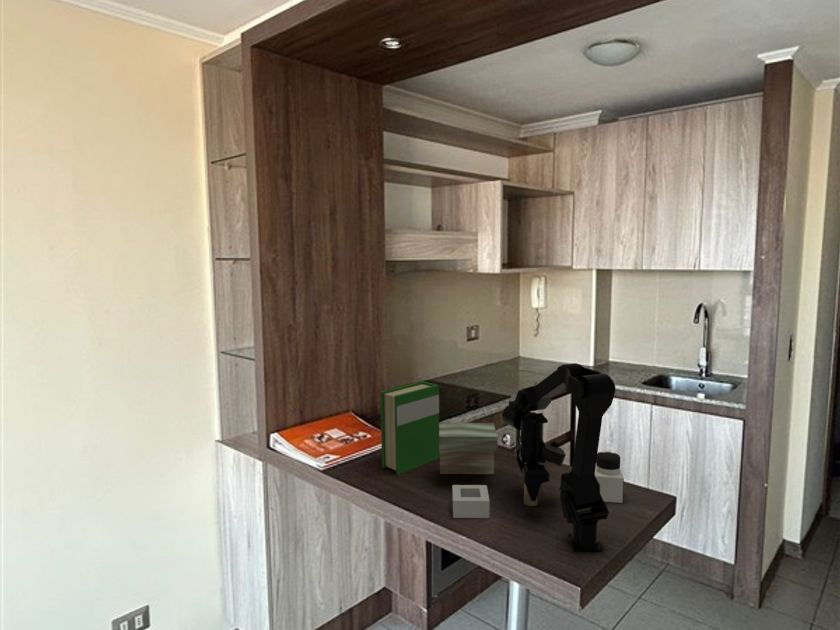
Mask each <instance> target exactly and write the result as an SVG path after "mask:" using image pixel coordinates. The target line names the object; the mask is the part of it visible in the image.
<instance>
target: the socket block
mask: <svg viewBox="0 0 840 630" xmlns="http://www.w3.org/2000/svg"><path fill="white" fill-rule="evenodd" d="M452 518H453V519H490V496H489V491H488V485H486V484H483V485H482V484H464V485H463V484H452Z"/></svg>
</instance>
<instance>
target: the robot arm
mask: <svg viewBox="0 0 840 630" xmlns="http://www.w3.org/2000/svg"><path fill="white" fill-rule="evenodd" d="M563 390H566V391H567V392H568V393H570V394H571V395H572V400H573V402H574V404H575V407H576V409H577V411H578V417H577V425H576V433H575V441H574V447H573V448H574V450H573V456H572V458H573V459H572V465H571V470H570V471H569V472H565V473H562V474H561V476H560V486H559V489H558V490H559V491H560V494H559V499H560V504H561V511H562V516H563V518H564V519H565V520H566V523H568V524H571V533H567V534H566V535H567V536H566V538H567V539H568V541H569V542H568V543H569V544H570V547H571V549H572V551H574V552H603V550H604V549H603V546H602V544H601V543H600V540H599V521H601V520H607V519H608V517H609V515H610V511H609V509H608V507H607V505H606V502H604V501H603V498H602V496H601V494H600V484H599V482H598V481H597V479H596V477H595V468H596V460H597V454H598V453H599V452H598V451H599V446H600V445H599V444H600V439H601V437H600V436H601V431H602V430H601V429H602V422H603V416H604V415H605V414H606V413H607V411H608V410H609V409H610V407H612V404H613V401H614V397H615V394H616V384H615V382H614V380H613V379H612V378H611V376H610V375H608V374H607V373H603V372H600V371H598V370H595V369H591V368H588V367H585V366H583V365H582V364H579V363H576V362H574V363H563V364H561V365H559V366H557V369H556V370H554V371H553V372H551V373H550V374H549V375H548V376H546V377H545V378H543V379H542V380H541V381H540V382H538V383H537V384H534V385H531V386H528V387H524V388H522V389H519V390H517V394H516V396H515V398H514V400H509V401H508V405H507V406H506V407H505V408H504V409H503V412H502V413H501V414H502V415H501V416H502V417H501V418H502V420H503V422H504V423H505V424H507V425H509V426H510V427H512V428H514V429H515V430H517V431H520V435H519V436H518V438H519V439H518V441H519V443H518V444H517V445H516V446H515V447H514V455H515V459H516V463H517V464H518V467H519V471H520V473H521V476H522V480H523V483H524V482H525V485H526V488H527V490H528V493H529V496H530V498H531V501H536V498H537V499H538V497H537V495H539V492H540V488H541V485H542V484H543V483H547V482H550V478H551V477H550V472H549V469H548V467H546V465H545V463H546V461H547V462H549V463H553V464H556V465H557V466H559V467H562V465H563V463H564V460H565V458H566V453H565V451H564V450H563V449H562V448H561V446H559V444H558V442H557V441H556V440H554V439H550V440H549V441H548V442H544V424H548V422H549V420H548V419H547V418H546V416H545V415H544V413H543V412H538V413H537V412H536V411H543V410H546V409H547V408H548V406H549V405H550V404H551V403H552V398H553V397H554V396H557V395H558V394H559V393H561V392H562V391H563ZM534 411H535V412H534ZM540 463H541V464H540Z"/></svg>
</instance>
